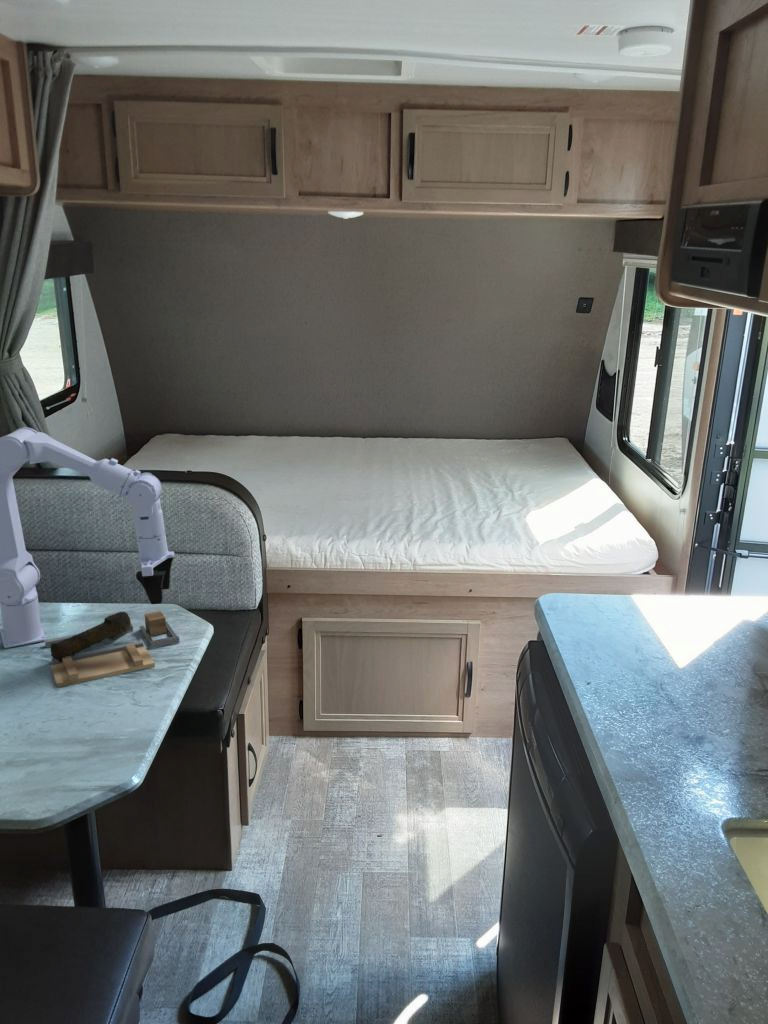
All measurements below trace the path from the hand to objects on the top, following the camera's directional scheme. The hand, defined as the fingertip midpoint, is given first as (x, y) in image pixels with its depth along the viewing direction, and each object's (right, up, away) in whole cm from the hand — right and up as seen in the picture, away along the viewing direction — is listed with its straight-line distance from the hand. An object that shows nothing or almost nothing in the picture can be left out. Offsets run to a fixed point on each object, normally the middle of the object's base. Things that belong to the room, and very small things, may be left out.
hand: (160, 595), depth 167 cm
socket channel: (-13, -10, -2) cm, 17 cm away
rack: (-8, -13, -10) cm, 19 cm away
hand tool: (-13, -10, -2) cm, 17 cm away
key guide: (-1, -9, +4) cm, 10 cm away
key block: (-3, -8, +6) cm, 10 cm away
